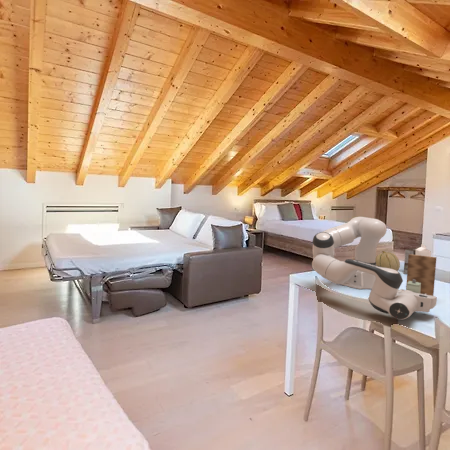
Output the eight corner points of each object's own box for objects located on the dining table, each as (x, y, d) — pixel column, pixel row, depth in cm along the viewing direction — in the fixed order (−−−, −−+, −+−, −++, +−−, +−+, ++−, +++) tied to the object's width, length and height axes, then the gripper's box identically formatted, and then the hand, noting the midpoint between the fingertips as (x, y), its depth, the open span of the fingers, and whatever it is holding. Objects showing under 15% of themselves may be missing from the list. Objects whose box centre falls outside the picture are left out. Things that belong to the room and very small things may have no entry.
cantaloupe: (399, 279, 210) (400, 254, 208) (373, 276, 216) (374, 252, 214) (398, 273, 223) (400, 250, 221) (374, 270, 229) (375, 248, 227)
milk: (417, 282, 202) (420, 246, 199) (413, 279, 208) (415, 244, 205) (428, 283, 201) (431, 246, 199) (423, 280, 207) (426, 244, 205)
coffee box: (413, 276, 217) (415, 251, 215) (403, 273, 221) (404, 249, 219) (419, 273, 223) (421, 249, 221) (409, 271, 227) (410, 247, 225)
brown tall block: (402, 300, 171) (405, 257, 169) (408, 292, 184) (411, 252, 181) (430, 306, 164) (434, 261, 161) (436, 297, 176) (439, 255, 173)
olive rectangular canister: (405, 308, 161) (407, 279, 159) (407, 305, 165) (409, 277, 163) (417, 310, 158) (419, 281, 156) (419, 307, 162) (421, 279, 160)
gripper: (381, 302, 157) (389, 294, 168) (433, 313, 144) (437, 304, 155) (382, 289, 156) (390, 282, 167) (434, 298, 144) (439, 290, 154)
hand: (413, 293), depth 161 cm, fingers open, 8 cm apart
